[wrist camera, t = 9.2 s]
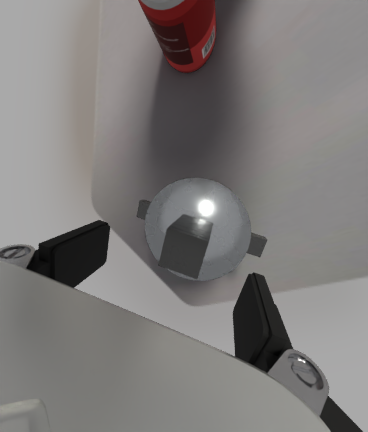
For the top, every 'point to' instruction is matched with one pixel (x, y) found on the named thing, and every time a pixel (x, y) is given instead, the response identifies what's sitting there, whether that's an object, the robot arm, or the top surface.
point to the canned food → (183, 30)
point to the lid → (197, 229)
